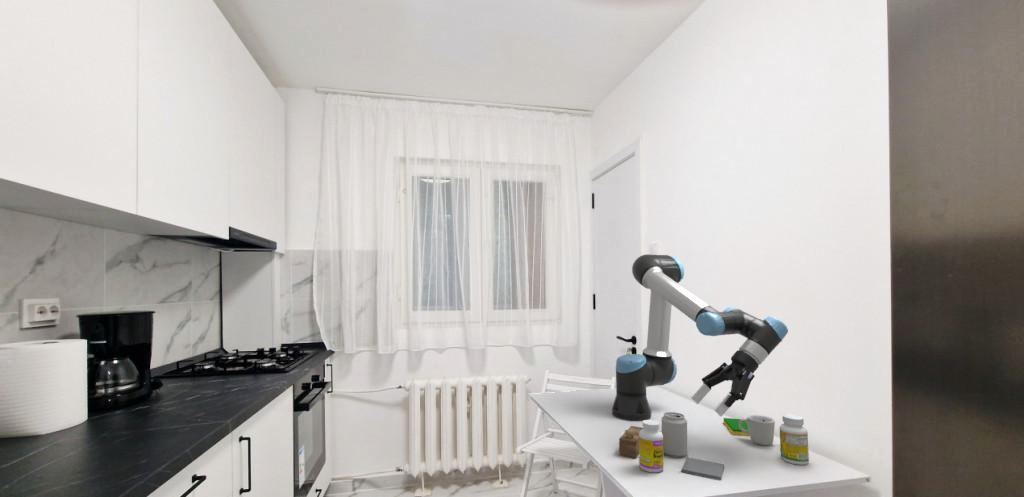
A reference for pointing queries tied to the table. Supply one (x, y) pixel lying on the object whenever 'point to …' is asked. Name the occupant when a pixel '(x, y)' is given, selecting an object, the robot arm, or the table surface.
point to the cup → (759, 429)
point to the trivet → (703, 468)
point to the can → (674, 434)
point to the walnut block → (630, 442)
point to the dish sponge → (735, 426)
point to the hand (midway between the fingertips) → (705, 406)
